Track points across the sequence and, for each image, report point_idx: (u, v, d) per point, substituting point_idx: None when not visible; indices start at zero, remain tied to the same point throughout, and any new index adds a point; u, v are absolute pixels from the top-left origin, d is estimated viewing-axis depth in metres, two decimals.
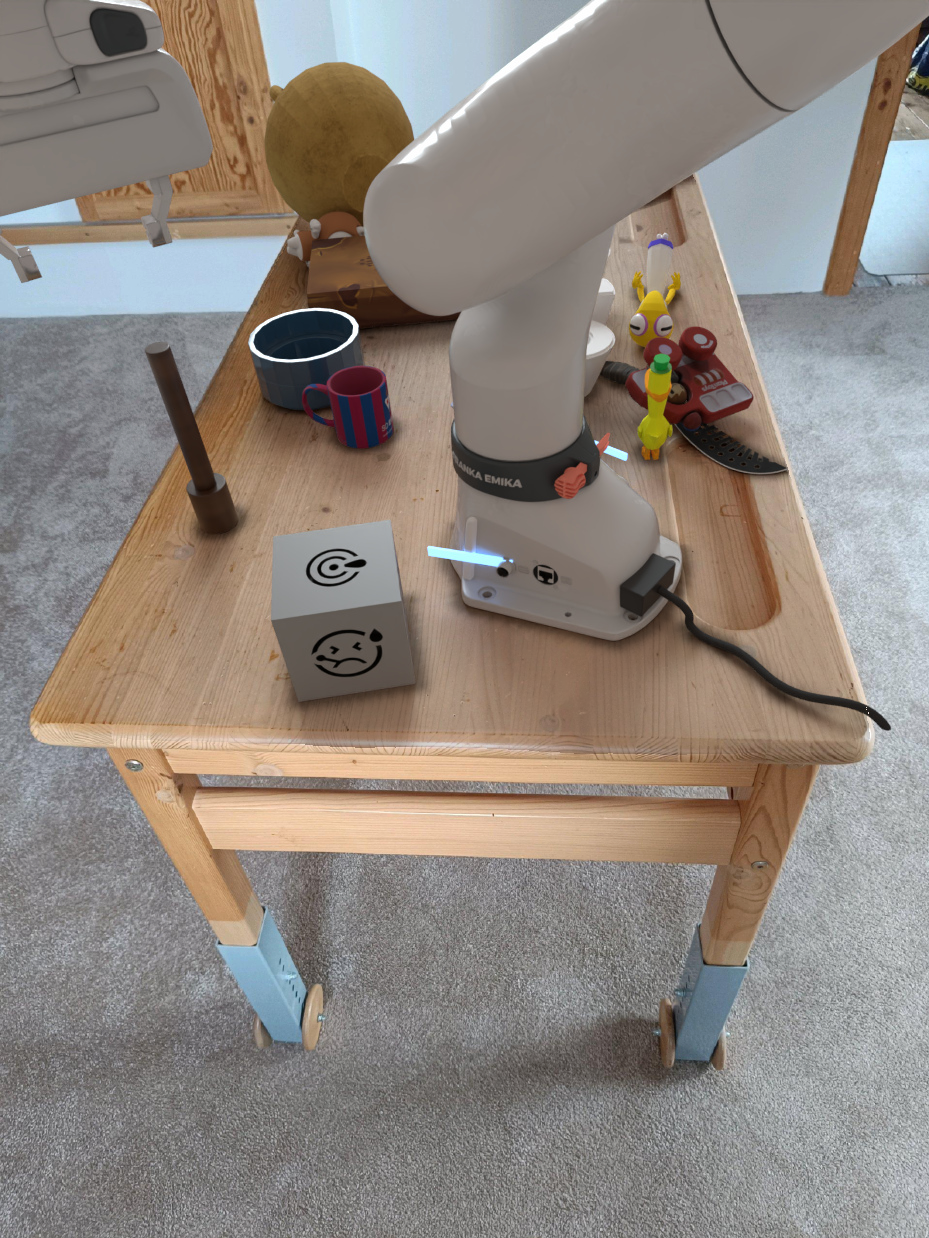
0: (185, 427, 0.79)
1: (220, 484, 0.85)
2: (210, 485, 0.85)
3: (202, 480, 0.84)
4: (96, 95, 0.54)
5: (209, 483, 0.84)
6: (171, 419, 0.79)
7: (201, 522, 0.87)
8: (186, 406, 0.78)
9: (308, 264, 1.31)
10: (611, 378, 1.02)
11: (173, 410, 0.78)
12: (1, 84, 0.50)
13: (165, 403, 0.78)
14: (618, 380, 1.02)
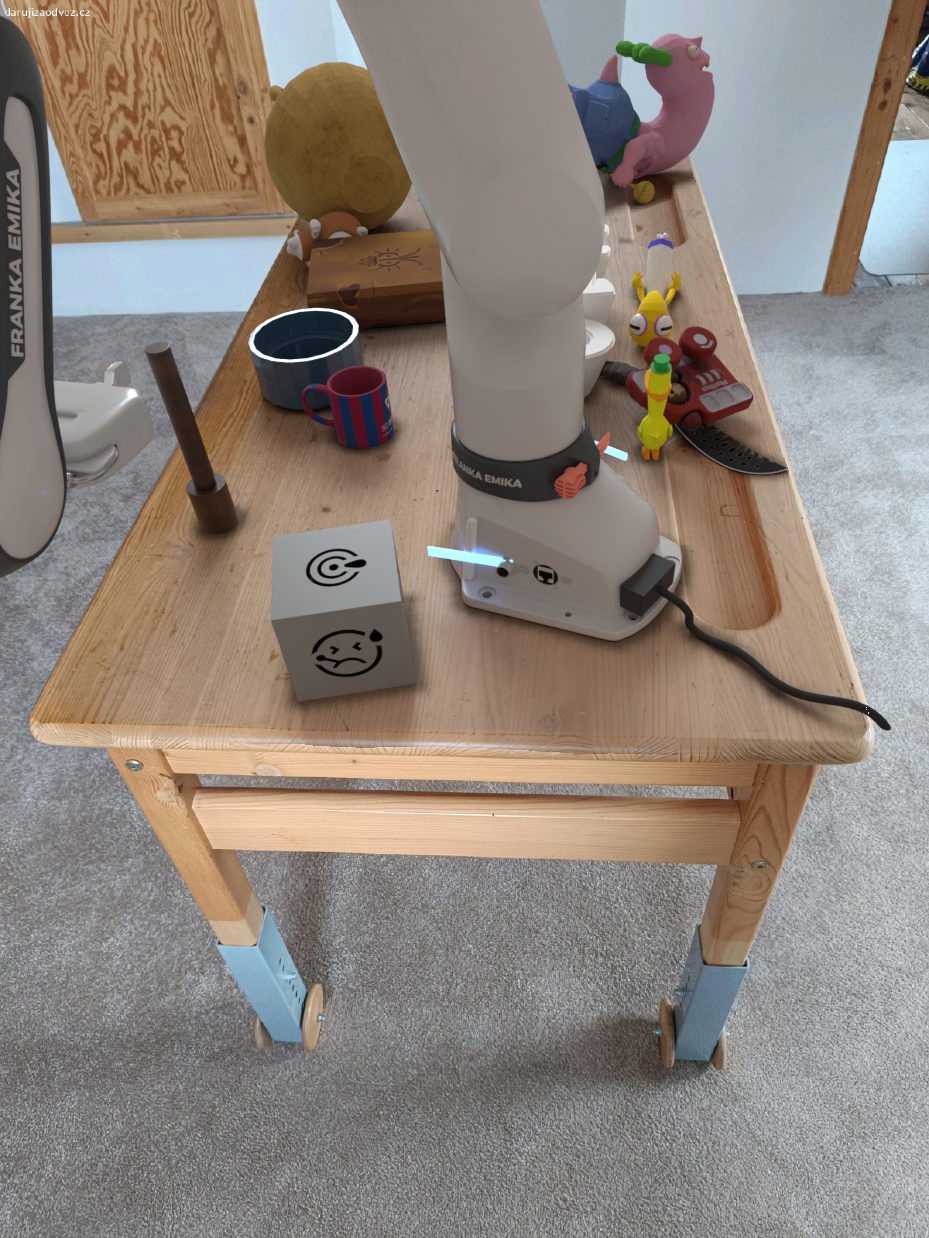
0: (185, 427, 0.79)
1: (220, 484, 0.85)
2: (210, 485, 0.85)
3: (202, 480, 0.84)
4: None
5: (209, 483, 0.84)
6: (171, 419, 0.79)
7: (201, 522, 0.87)
8: (186, 406, 0.78)
9: (308, 264, 1.31)
10: (611, 378, 1.02)
11: (173, 410, 0.78)
12: None
13: (165, 403, 0.78)
14: (618, 380, 1.02)
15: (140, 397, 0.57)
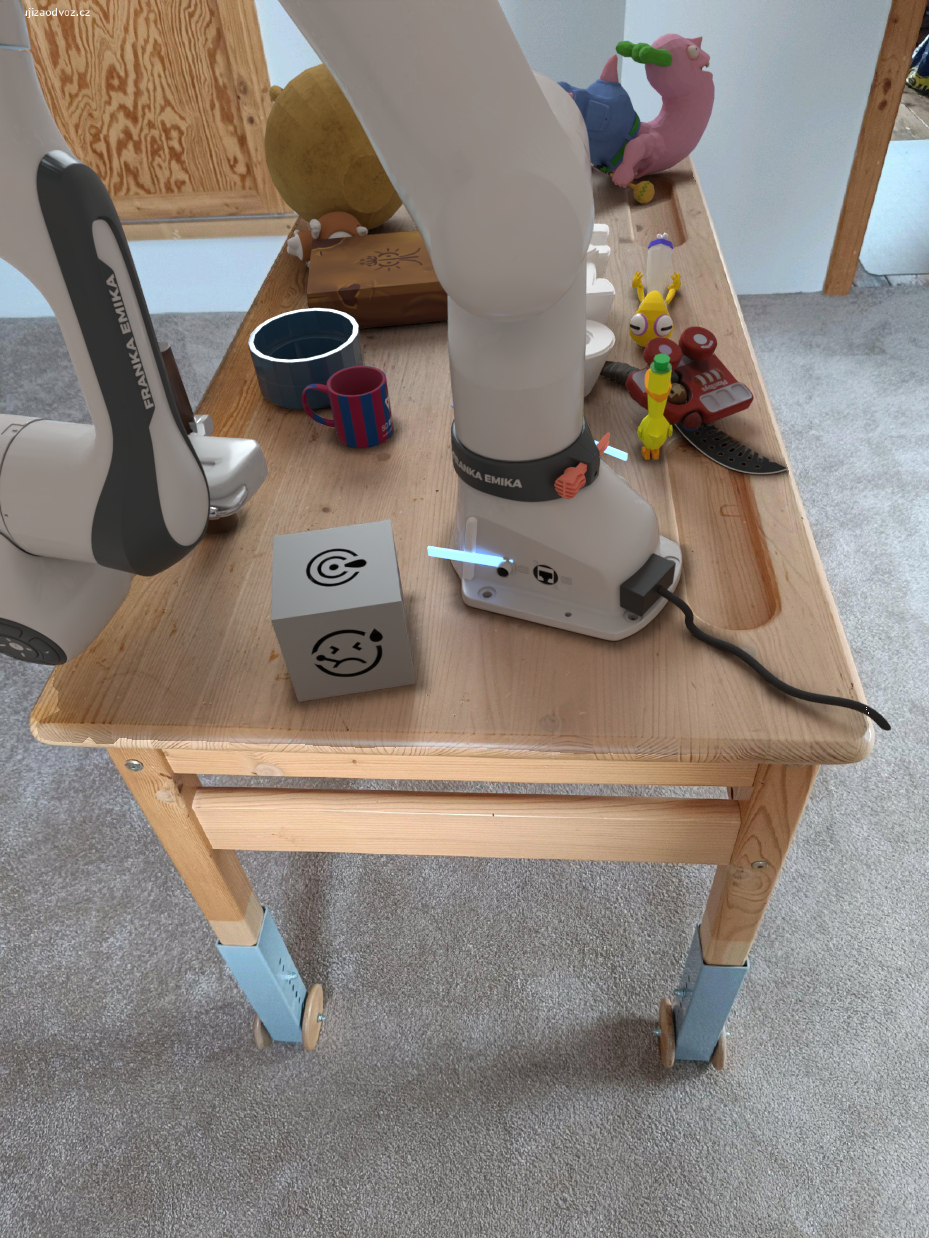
0: (185, 427, 0.79)
1: None
2: None
3: None
4: None
5: None
6: None
7: None
8: (187, 406, 0.78)
9: (308, 264, 1.31)
10: (611, 378, 1.02)
11: None
12: None
13: None
14: (618, 380, 1.02)
15: (259, 446, 0.74)
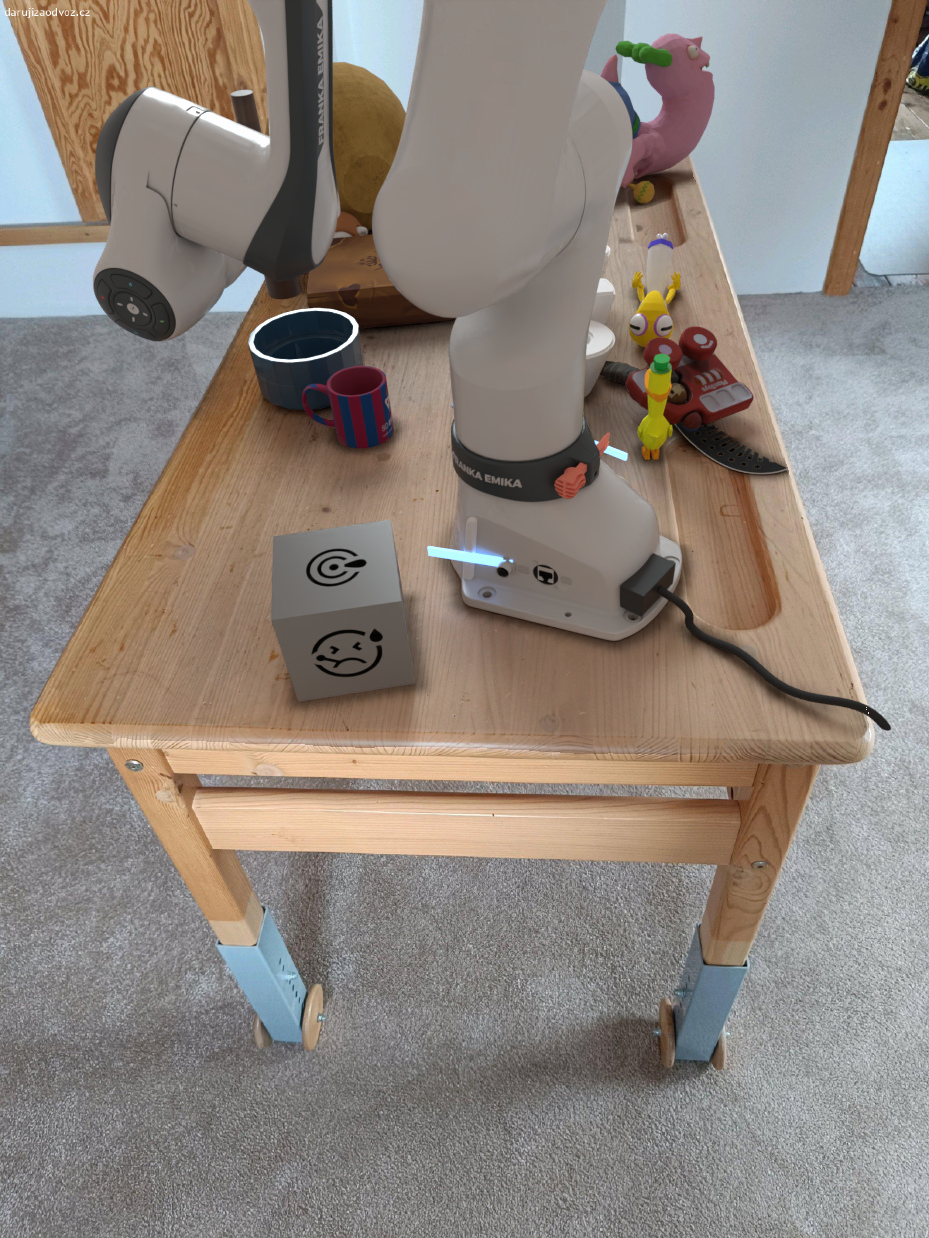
0: None
1: None
2: None
3: None
4: None
5: None
6: None
7: (271, 287, 0.95)
8: None
9: None
10: (611, 378, 1.02)
11: None
12: None
13: None
14: (618, 380, 1.02)
15: None
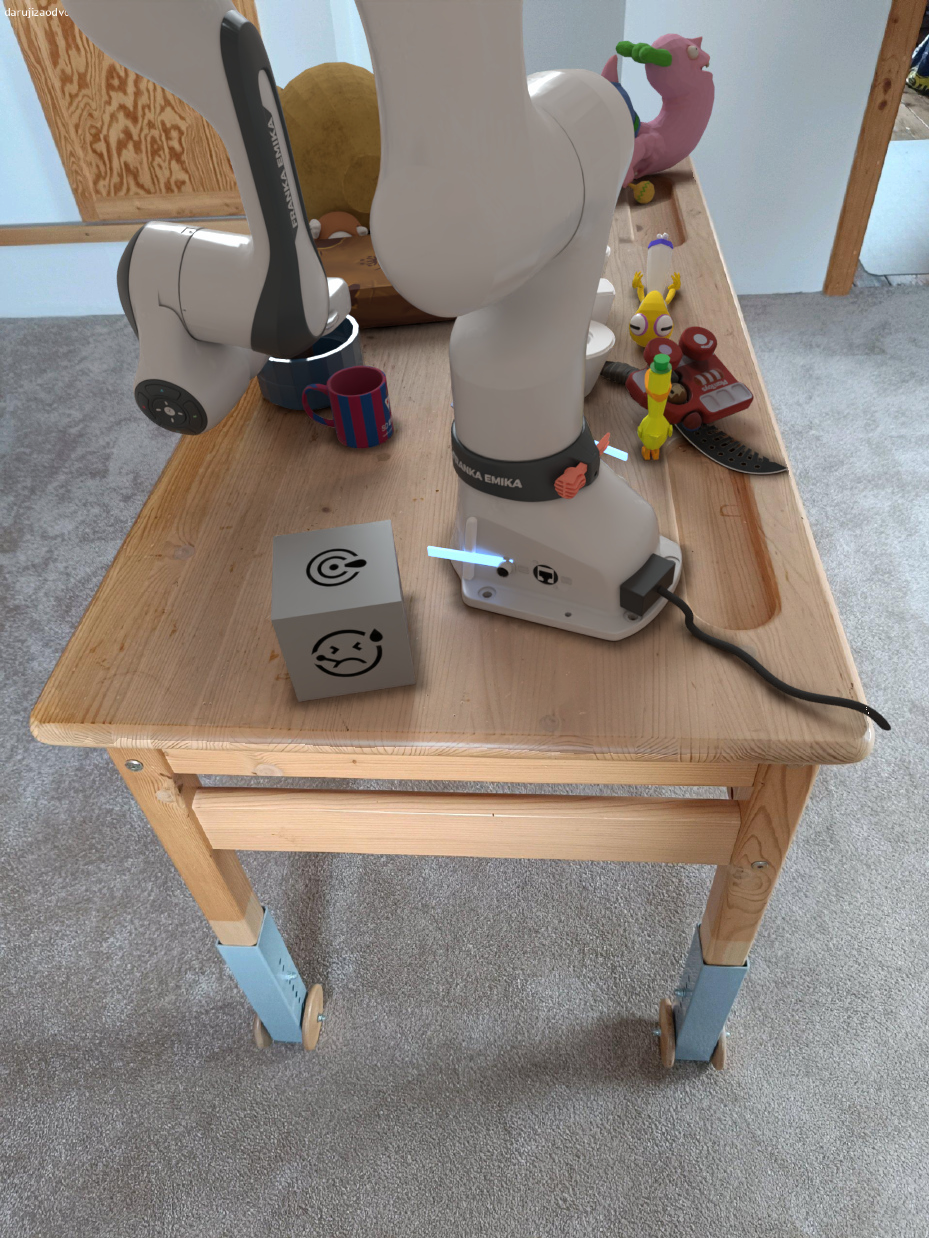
0: None
1: None
2: None
3: None
4: None
5: None
6: None
7: None
8: None
9: None
10: (611, 378, 1.02)
11: None
12: None
13: None
14: (618, 380, 1.02)
15: None
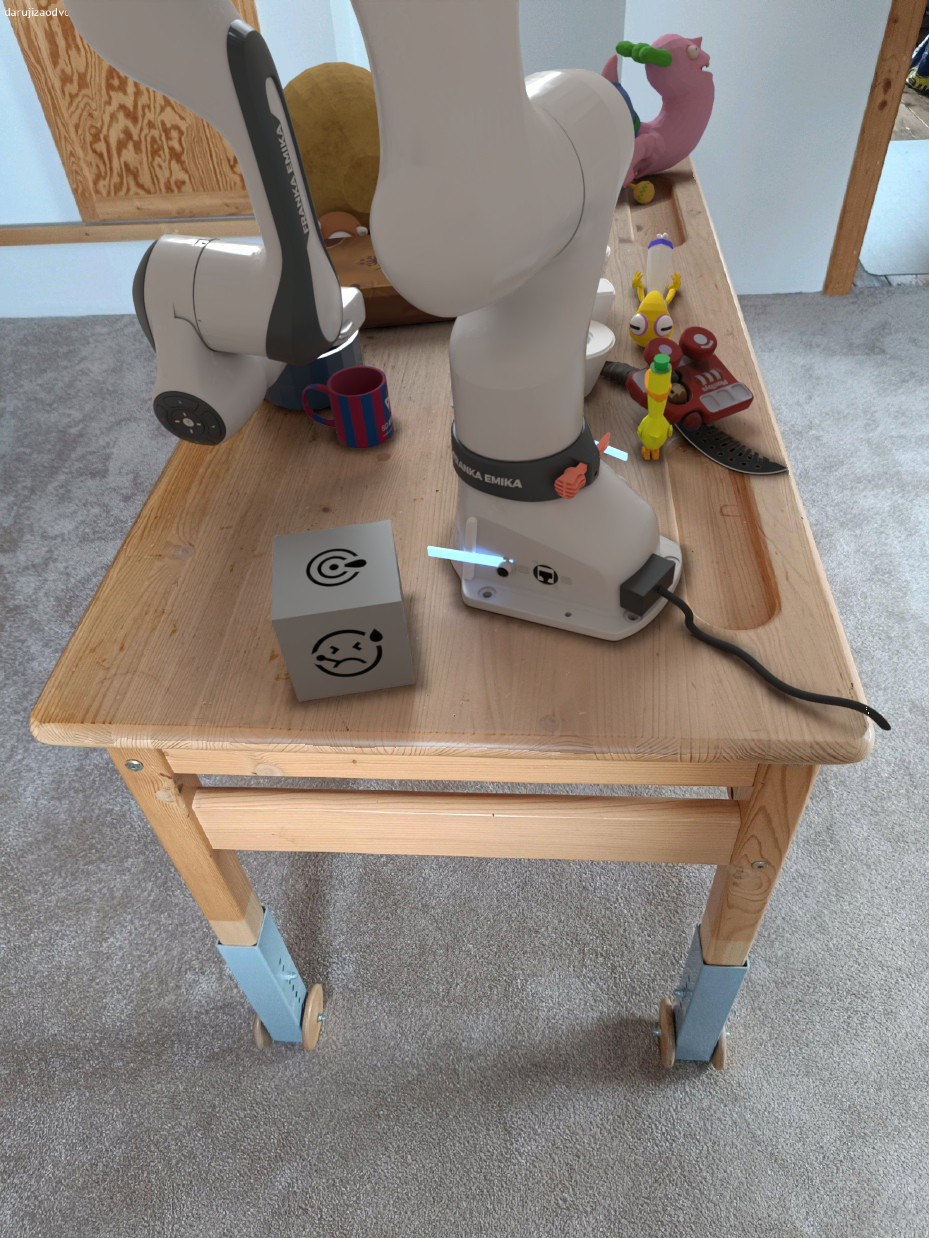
0: None
1: None
2: None
3: None
4: None
5: None
6: None
7: None
8: None
9: None
10: (611, 378, 1.02)
11: None
12: None
13: None
14: (618, 380, 1.02)
15: (360, 292, 0.92)
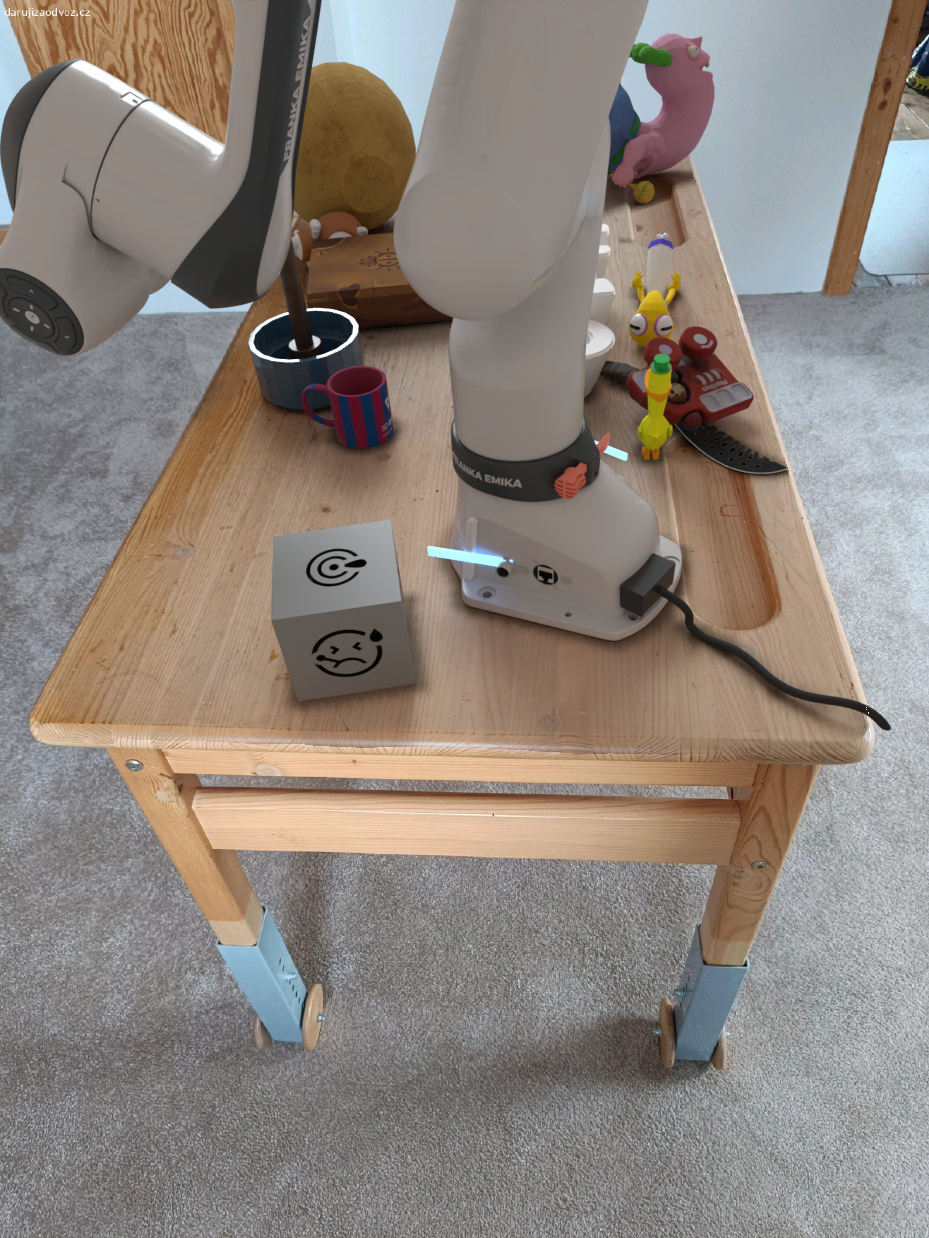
0: (293, 288, 0.97)
1: (316, 343, 1.03)
2: (309, 343, 1.02)
3: (303, 338, 1.01)
4: None
5: (308, 341, 1.02)
6: (283, 281, 0.97)
7: None
8: (296, 269, 0.96)
9: (308, 264, 1.31)
10: (611, 378, 1.02)
11: (286, 272, 0.96)
12: None
13: None
14: (618, 380, 1.02)
15: None
